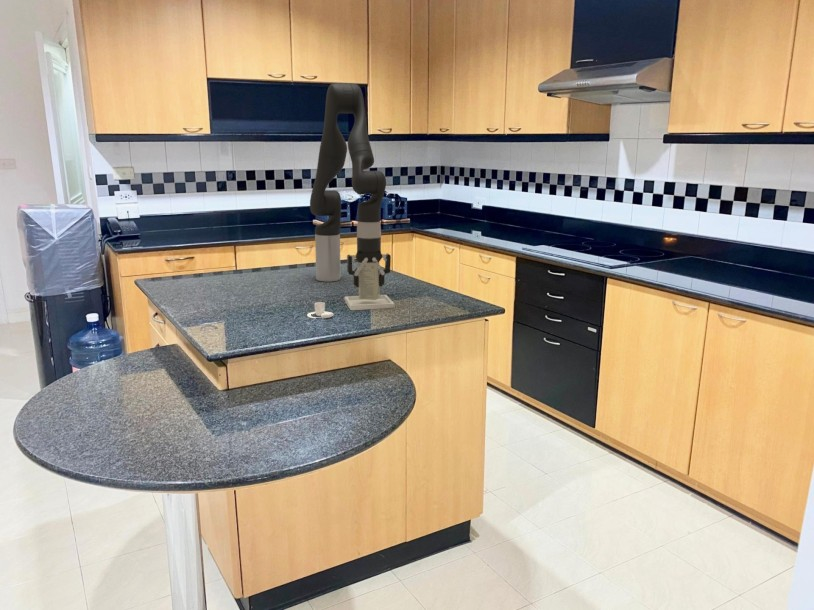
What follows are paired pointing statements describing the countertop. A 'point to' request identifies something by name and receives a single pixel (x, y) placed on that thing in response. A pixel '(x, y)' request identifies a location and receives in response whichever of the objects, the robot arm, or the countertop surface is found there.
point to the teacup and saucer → (320, 311)
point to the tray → (368, 303)
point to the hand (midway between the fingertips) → (368, 286)
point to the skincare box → (369, 281)
